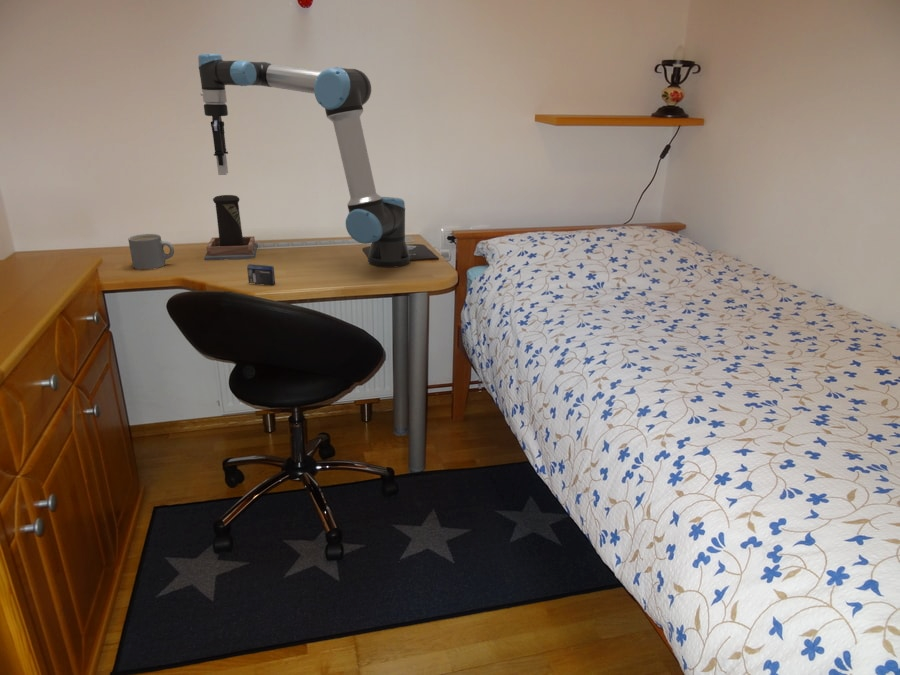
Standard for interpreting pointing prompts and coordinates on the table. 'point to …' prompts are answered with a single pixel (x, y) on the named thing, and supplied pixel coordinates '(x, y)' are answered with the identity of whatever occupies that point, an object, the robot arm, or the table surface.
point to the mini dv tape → (261, 274)
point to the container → (228, 220)
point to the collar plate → (231, 250)
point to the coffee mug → (148, 251)
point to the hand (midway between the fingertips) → (223, 173)
